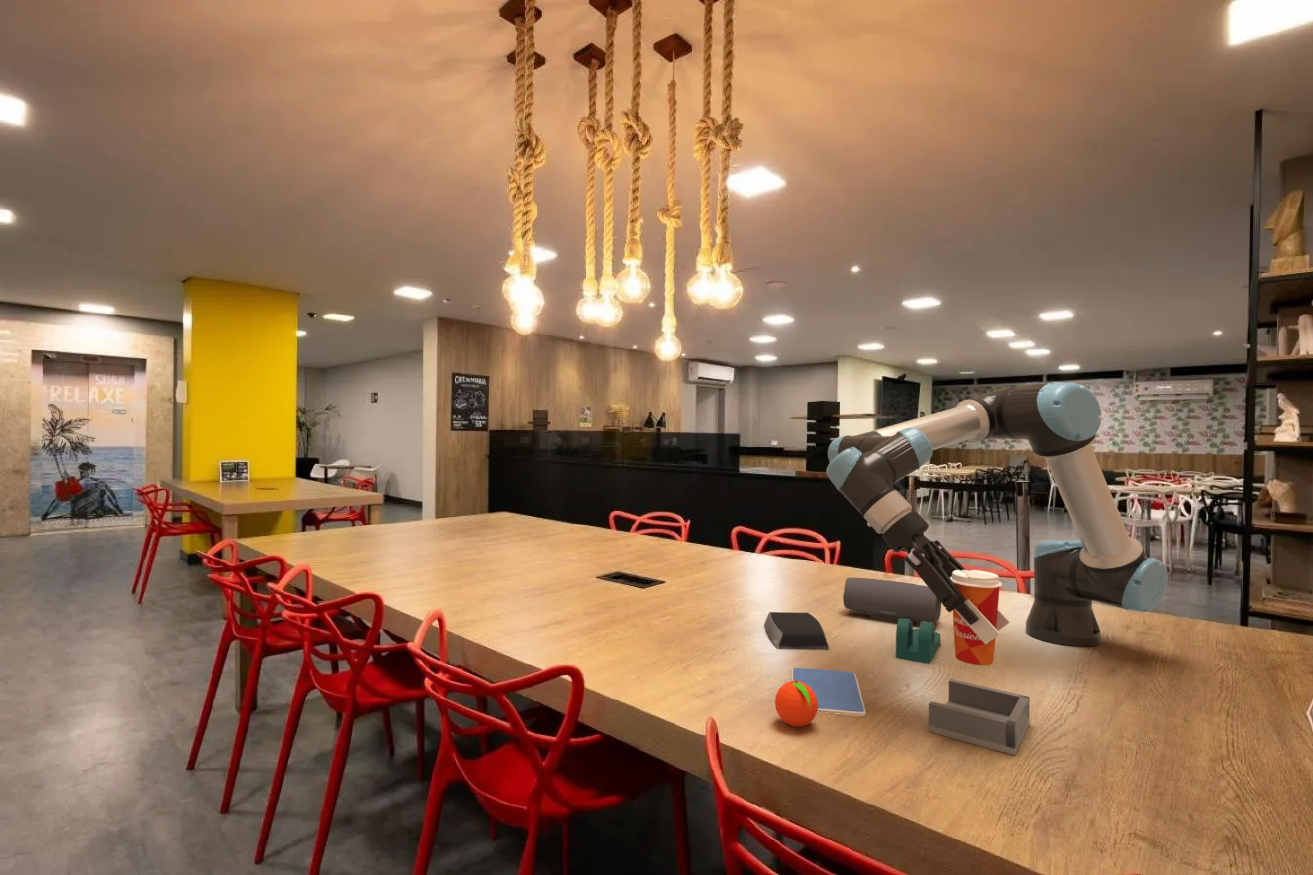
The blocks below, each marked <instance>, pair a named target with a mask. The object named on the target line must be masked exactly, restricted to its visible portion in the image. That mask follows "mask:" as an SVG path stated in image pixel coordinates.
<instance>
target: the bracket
mask: <svg viewBox="0 0 1313 875" xmlns="http://www.w3.org/2000/svg"><path fill="white" fill-rule="evenodd" d="M935 629H936V628H935V622H925V621H920V625H919V628H914V625H913V622H912V620H910V619H903V618H899V620H898V622H896V632H895V658H896V659H898V660H905V661H909V662H915V663H916V662H917V663H920V664H921V663H922V664H926V665H930V664H931V662H932V661H933V659H934V657H935V656H936V654H937V651H938V650H939V648H940V646H941V633H939V632H938V631H937V632H936V631H935Z"/></svg>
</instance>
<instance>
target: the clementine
mask: <svg viewBox="0 0 1313 875" xmlns="http://www.w3.org/2000/svg"><path fill="white" fill-rule="evenodd" d="M774 704H775V705H774V706H775V710H776V712H777V715H778V716H779V718H780V719H781V720H782V721H783V722H785V723H786V724H788V725H789V726H792V727H798V728H800V727H805V726H807V725H809V724H810V723H812V722H813V721H814V719H815V718H816V716H817V714H818V712H817V711H818V700H817V697H816V695H815V693H814V691H813V690H812V689H811V688H810V687H809V686H808V685H806V684H805V683H803V682H800V681H791V680H789V681H787V682H785V683H784V684H782V685H781V686H780V688H779V689H778V690H777V693H776V694H775V699H774Z"/></svg>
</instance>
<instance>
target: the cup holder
mask: <svg viewBox="0 0 1313 875" xmlns="http://www.w3.org/2000/svg"><path fill="white" fill-rule="evenodd" d="M1030 701H1031V698H1030V696H1027V695H1023V694H1019V693H1014V692H1010V691H1005V690H1001V689H997V688H992V687H987V686H984V685H979V684H976V683H975V684H974V683H970V682H966V681H962V680H958V679H957V680H956V679H954V678H953V679H952V678H950V679H949V680H948V701H947V702H946V703H940V702H937V701H932V700H930V701H929V702H928V732H929V733H930V732H931V733H934V734H937V735H939V736H940V735H941V736H944V737H947V738H950V739H955V740H959V741H962V742H965V743H968V744H973V745H976V746H979V747H983V748H986V749H989V750H993V751H997V752H1001V753H1005V754H1009V755H1012V756H1015V755H1016V754H1017V751H1018V749H1019V746H1020V745H1021V744H1022V741H1023V738H1024V736H1025V734H1026V733H1027V730H1028V728H1029V726H1030Z"/></svg>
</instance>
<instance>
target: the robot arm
mask: <svg viewBox="0 0 1313 875" xmlns="http://www.w3.org/2000/svg"><path fill="white" fill-rule="evenodd" d="M1100 416H1102V411H1101V406H1100V404H1099V401H1098V398H1097V397H1096V395H1094V393H1093V392H1092V390H1090V389H1089V388H1088V387H1086V386H1085V385H1082V384H1078V383H1076V382H1064V381H1063V382H1062V381H1054V382H1053V381H1052V382H1049V383H1042V384H1041V383H1040V384H1030V385H1016V386H1015V385H1014V386H1013V385H1012V386H1008V387H1002V388H999V389H997V390H996V389H995V390H992V391H989V392H986V393H984V394H981V395H977V396H974V397H971V398H968V399H964V400H962V401H960V402H958V403H957V405H956V406H955V407H953V408H949V409H946V410H942V411H938V412H935V413H931V414H928V415H923V416H921V417H917V418H914V419H910V420H908V421H907V420H906V421H902V422H899V423H896V424H892V425H889V426H885V427H881V428H879V429H878V428H877V429H874V430H871V431H867V432H862V433H859V434H856V435H849V434H848V435H844V436H842V435H841V436H838V437H836V438H834V440H832V441H831V443H830V444H829V446H828V448H827V449H828V450H827V458H828V461H829V463H828V466H827V467H826V471H825V472H826V473H825V474H826V476H827V477H828V478H829V480H830V481H831V483H832V484H833V485H834V487H835V488H836V490H837V491H838V492H840V493H841V494H842V496H844V498H845V499H846V500H847V501H848V502H849V503H850V504H851V505H852V507H854V509H856V511H857V512H858V513H859V514H860V515H861V516H862V518H864V520H866V522H867V523H866V525H867V527H869V528H871V527H872V529H873V530H874V531H875V532H876V533H877V534H882V537H881V538H882V540H883V542H884V543H886V544H887V545H888V547H889V548H890V549H891V550H892V551H893V553H900V552H902V551H903V550H905V552H906V553H907V554H908V555H906V556H905V557H904V558H903V559H904V560H905V563H907V564H908V565H909V566H910V567H911V568H912V570H914V571H915V572H916V574H917V575H918V576H919V577H920V579H921V580H922V581H923V583H925V586H928V587H929V588H930V590H931V591H932V592H933V593H934V594H935V596H936V597H937V598H938V599H939V601H940V602H941V605H942V606H943V607H944V608H945V610H946V611H947V612H948V613H951V612H953V610H954V609H955V611H956V612H957V613H958V615H959V616H960V617H961V618H962V619H963V620H964V621H965V622H966V623H967V625H968V626H969V627H970V628H971V629H972V630H973V631H974V632H975V633H976V634H977V636H978V637H979V638H980V639H981V640H982V641H983V642H984V643H985V644H987V643H989V642H990V641H992V640H993V639H994V638H997V637H999V636H1000V635H1001V633H1000V630H1003V628H1004V627H1006V626H1007V625H1008V624H1010V623H1011V621H1010V620H1009V618H1008V617H1007V616H1006V615H1005V614H1004V613H1003V612H1002V611H1001V610H1000V608H998V613H997V626H996V628H995V627H994V626H993V625H992V624H991V623H990V622H989V621H988V620H987V619H986V617H985V616H984V615H983V614H982V613H981V612H980V611H979V610H978V609H977V608H976V607H975V605H974V604H973V603H972V602H971V601H970V600H969V599H968V600H965V598H964V597H963V595H962V594H961V593H960V591H959V590H958V588H957V587H956V586H955V584H954V583H953V582H952V580H951V579H950V577H952V572H953V571H955V570H960V571H961V570H967V569H966V568H965V567H964V566H963V565H962V564H961V563H960V562H959V561H958V560H957V559H956V558H955V557H954V556H953V555H952V554H951V553H950V552H949V551H948V550H947V549H946V548H945V547H944V545H943V544H941V542H940V541H939V540H938V539H935V541H933V540H930V539H929V538H928V536H926V535H925V532H927V530H928V529H929V528H930V525H929V523H928V522H927V521H926V520H925V519H924V518H923V516H921V515H920V513H918V511H916V510H913V509H912V508H913V506H912V504H910V503H909V502H908V501H907V499H905V497H904V496H902V495H901V493H900V492H899V491H898V490H897V489H896V488H895V487H894V486H893V485H894V484H897V482H899V481H901V480H902V479H904V478H905V477H907V476H909V475H910V474H911V473H913V472H915V471H917V470H919V469H920V468H921V467H923V465H925V464H926V463H927V462H929V461H930V459H931V458H932V456H933V451H935V450H938V449H940V448H941V449H942V448H944V447H945V448H946V447H949V446H951V445H955V444H959V443H962V442H965V441H968V442H971V443H977V442H981V441H984V440H1004V439H1005V440H1027V441H1028V442H1029V445H1030V448H1031V450H1032V452H1033V454H1034V455H1035V456H1036V457H1040V458H1042V459H1044V460H1045V462H1046V463H1047V466H1048V468H1049V472H1050V473H1051V475H1052V478H1053V480H1054V482H1055V484H1056V488H1057V489H1058V492H1059V495H1060V496H1061V499H1062V501H1063V503H1064V505H1065V507H1066V510H1067V512H1068V514H1069V517H1070V520H1071V521H1072V524H1073V526H1074V528H1075V530H1076V533H1077V535H1078V537H1079V539H1048V540H1047V539H1046V540H1040V541H1038V542H1037V543H1036V544H1035V547H1034V549H1035V550H1034V556H1033V561H1034V562H1033V565H1034V566H1033V568H1034V570H1033V571H1034V572H1033V574H1034V575H1033V576H1034V579H1033V582H1034V583H1033V584H1034V587H1033V588H1034V595H1033V596H1034V597H1033V598H1034V599H1033V603H1032V606H1031V608H1030V611H1029V613H1028V615H1027V618H1026V620H1025V632H1026V633H1027V634H1028V635H1029V636H1031V637H1033V638H1036V639H1038V640H1041V641H1045V642H1050V643H1053V644H1059V645H1065V646H1075V647H1093V646H1094V647H1095V646H1097V645H1098V646H1099V645H1100V644H1101V642H1102V634H1101V630H1100V627H1099V624H1098V621H1097V618H1096V615H1095V612H1094V609H1093V602H1096V603H1097V602H1098V603H1102V604H1105V605H1109V606H1112V607H1115V608H1116V607H1117V608H1120V609H1124V610H1126V611H1135V612H1139V613H1141V612H1142V613H1143V612H1149V611H1152V610H1153V609H1155V608H1156V607H1157V606H1158V605H1159V604H1160V603H1161V602H1162V600H1163V598H1164V597H1165V594H1166V590H1167V588H1168V581H1169V580H1168V579H1169V576H1168V575H1169V574H1168V569H1167V567H1166V565H1165V564H1164V562H1163V561H1161V560H1159V559H1157V558H1155V557H1148V556H1147V555H1146V553H1145V550H1144V548H1143V545H1142V543H1141V542H1140V541H1138V540H1137V539H1136V538H1133V537H1131V536H1129V534H1128V531H1127V528H1126V526H1125V524H1124V521H1123V519H1122V517H1121V515H1120V512H1119V509H1118V507H1117V504H1116V502H1115V499H1114V498H1113V495H1112V492H1111V490H1110V488H1109V485H1108V483H1107V481H1106V478H1105V476H1104V473H1103V471H1102V469H1101V466H1100V464H1099V462H1098V459H1097V456H1096V454H1095V452H1094V449H1093V448H1092V444H1093V443H1094V442H1095V440H1096V438H1097V434H1096V433H1098V431H1099V429H1100V426H1101V424H1102V419H1101V418H1100ZM964 601H965V602H964Z"/></svg>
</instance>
